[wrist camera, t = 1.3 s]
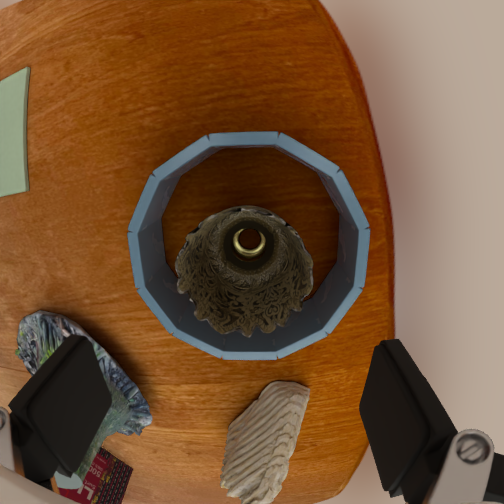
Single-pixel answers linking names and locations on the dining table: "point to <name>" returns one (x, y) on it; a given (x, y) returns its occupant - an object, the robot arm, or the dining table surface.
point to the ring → (177, 304)
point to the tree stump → (119, 384)
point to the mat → (14, 133)
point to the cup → (244, 271)
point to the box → (102, 481)
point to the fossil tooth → (263, 443)
